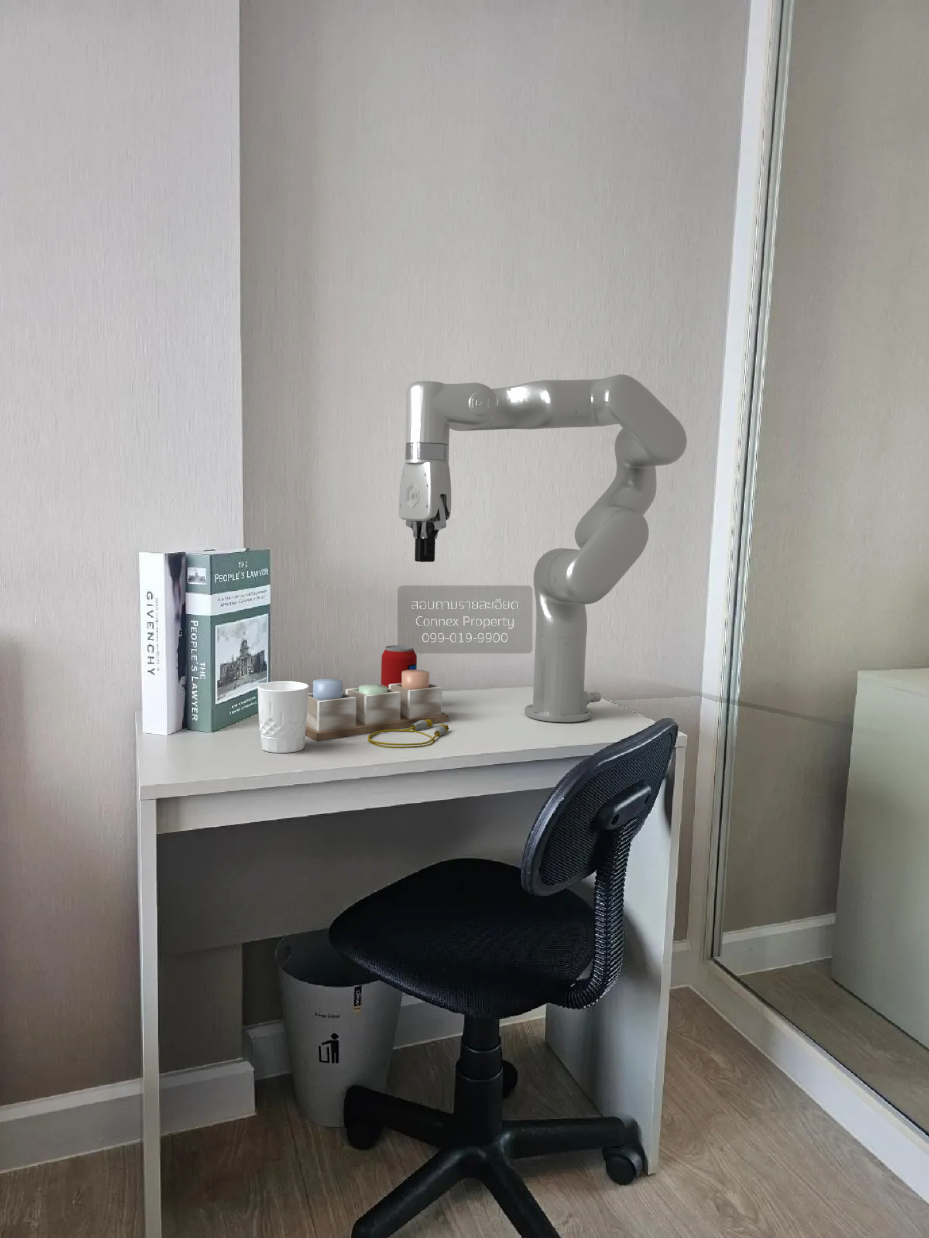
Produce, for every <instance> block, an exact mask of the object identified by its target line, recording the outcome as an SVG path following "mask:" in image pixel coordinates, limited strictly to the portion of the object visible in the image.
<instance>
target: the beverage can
mask: <svg viewBox="0 0 929 1238" xmlns="http://www.w3.org/2000/svg"><path fill="white" fill-rule="evenodd" d="M380 661H381V667H380V685H384V686H387V688H389V684H397V683H402V671H405V670H418V669H417V667H418V666H417V665H418V664H417V662H418V655H417V653H416V652H415V649H414V646H410V645H402V644H401V645H400V644H397V645H395V644H394V645H393V644H392V645H387V646H385V647H384V651H383V652H382V654H381V660H380Z"/></svg>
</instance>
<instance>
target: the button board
mask: <svg viewBox="0 0 929 1238" xmlns="http://www.w3.org/2000/svg"><path fill="white" fill-rule="evenodd" d="M442 703H443V687H442V686H439V685H435V684H432V683H429V688H424V689H416V690H410V689H406V688H403V687H402V683H397V684H389V688H387V693H382V694H374V695H366V694H363V693H360V692H359V687H352V688H345V693H344V692H343V698H340V699H331V700H323V701H321V700H318V699H315V698H313V692H308V709H307V720H306V731H305V737H307V738H310V739H311V740H314V741H316V742H317V741H318V742H319V741H325V740H326V741H327V740H331V739H339V738H344V737H345V738H346V737H351V736H358V735H363V734H372V733H371V732H373V733H374V732H377V731H381V730H389V729H397V730H401V729H407V728H410V727H411V726H412V724H414V723H416V722H418V721H419V720H427V719H430V720H431V721H432V725H434V724H439V723H446V722H449V721H450V714H448V713H446V712H442V708H443V707H442V705H443V704H442Z"/></svg>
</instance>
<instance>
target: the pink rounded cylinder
mask: <svg viewBox="0 0 929 1238" xmlns="http://www.w3.org/2000/svg"><path fill="white" fill-rule="evenodd" d="M429 684H430V671H428V670H423V669H422V670H421V669H417V670H405V671H402V687H403V688H406V689H410V690H416V689H424V688H429Z"/></svg>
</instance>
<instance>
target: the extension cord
mask: <svg viewBox="0 0 929 1238" xmlns="http://www.w3.org/2000/svg"><path fill="white" fill-rule="evenodd" d="M432 727H433V724H432V721H431V720H430V719H427V720H419V721H418V722H416V723H414V724H412V726H411V727H406V728H403V729H389V730H381V731H377V732H373V733H369V735H368V736H367V741H368V742H369V743H370V744H371V745H373V746H376V747H380V748H381V747H382V748H385V749H387V748H389V749H414V748H415V749H416V748H425V747H429V746H432V745H433V744H434V743H435V741H436V740H435V739H436V738H440V737H441V736H444V735H446V733H447V732H448V730H450V728H449V725H448V724H444V723H441V724H439V725H438V726H436V727H435V729H434V733H433V735H434V736H431V735H429V734H427V733H425V732H422V731H424V730H426V729H430V728H432ZM423 729H424V730H423ZM381 732H385V733H389V732H404V733H405V732H407V733H415V732H416V733H417V734H419V735H423V736H426V737H428V738H429V740H427V741H423V742H415V743H412V742H411V743H402V742H401V743H395V742H381V741H378V740H373V739H371V738H373V737H375V736H377V735H380V733H381ZM381 734H382V733H381ZM372 736H373V737H372Z"/></svg>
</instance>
